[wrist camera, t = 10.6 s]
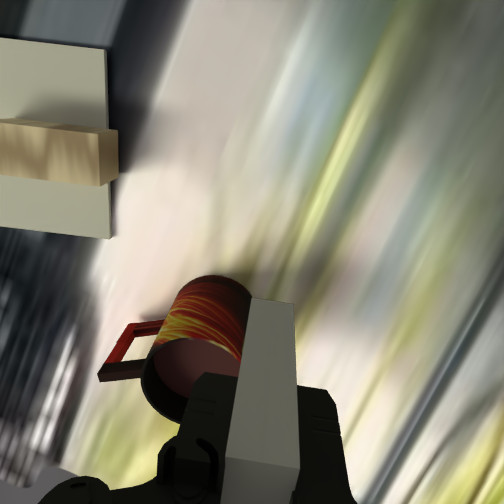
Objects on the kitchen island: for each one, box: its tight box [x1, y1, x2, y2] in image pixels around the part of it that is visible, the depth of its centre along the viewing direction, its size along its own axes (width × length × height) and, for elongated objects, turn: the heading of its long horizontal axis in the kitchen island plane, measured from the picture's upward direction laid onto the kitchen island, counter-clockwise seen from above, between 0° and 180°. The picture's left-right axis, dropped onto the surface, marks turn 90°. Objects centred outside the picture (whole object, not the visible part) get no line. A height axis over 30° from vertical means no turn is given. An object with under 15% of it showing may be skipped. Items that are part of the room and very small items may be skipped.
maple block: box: [0, 118, 119, 187], centre depth 36 cm, size 4×4×10 cm
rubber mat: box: [0, 38, 112, 239], centre depth 38 cm, size 18×12×1 cm, turn 174°
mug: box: [97, 275, 253, 424], centre depth 40 cm, size 10×14×12 cm
